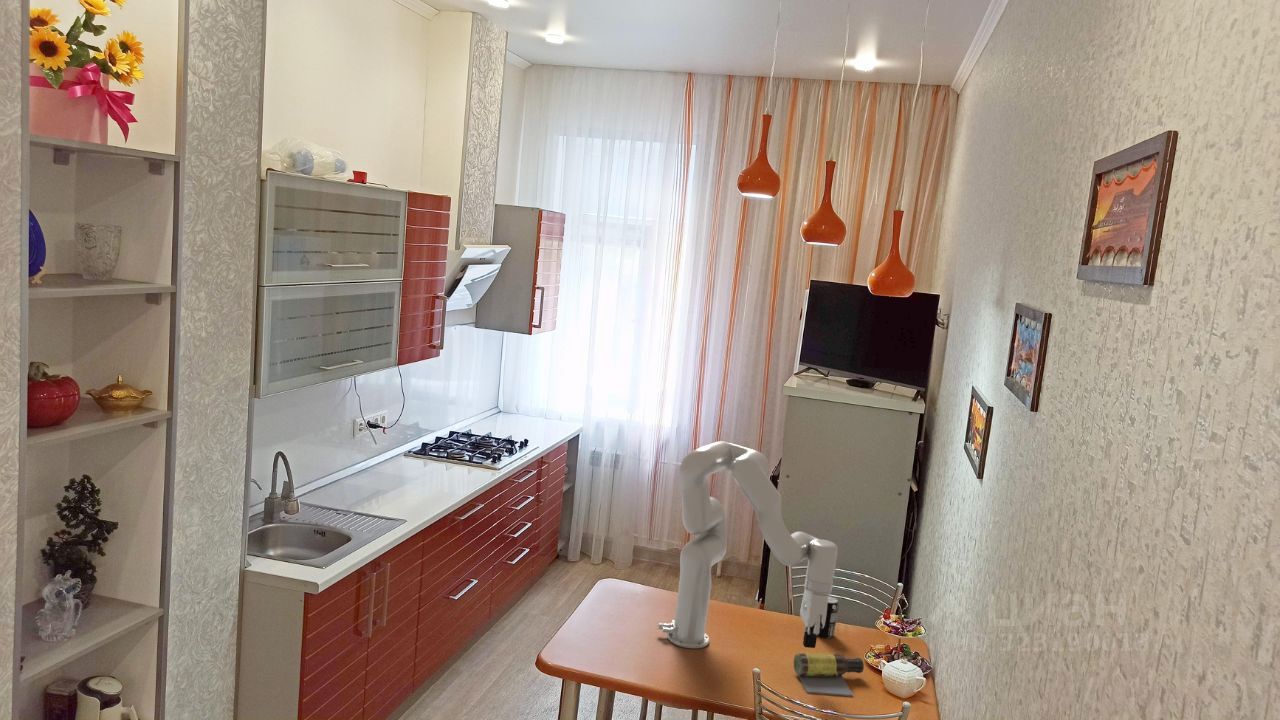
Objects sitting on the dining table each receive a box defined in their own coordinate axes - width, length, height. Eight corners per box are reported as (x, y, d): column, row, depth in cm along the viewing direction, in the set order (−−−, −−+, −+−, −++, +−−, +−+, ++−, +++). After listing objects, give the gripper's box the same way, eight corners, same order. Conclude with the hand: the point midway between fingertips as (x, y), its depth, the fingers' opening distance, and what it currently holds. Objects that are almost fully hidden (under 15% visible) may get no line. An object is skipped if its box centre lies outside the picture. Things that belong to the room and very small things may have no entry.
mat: (806, 692, 253) (806, 691, 253) (794, 666, 268) (794, 665, 268) (852, 696, 254) (852, 694, 254) (837, 670, 269) (838, 668, 269)
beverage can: (810, 629, 296) (815, 593, 294) (830, 630, 297) (835, 595, 295) (815, 638, 290) (821, 602, 288) (836, 639, 290) (841, 603, 288)
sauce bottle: (800, 679, 259) (865, 680, 263) (801, 656, 259) (867, 658, 263) (791, 671, 265) (855, 673, 269) (793, 649, 265) (857, 651, 269)
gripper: (799, 573, 264) (789, 633, 267) (811, 594, 249) (802, 657, 252) (824, 575, 264) (815, 635, 267) (838, 596, 250) (828, 660, 252)
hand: (808, 646), depth 259 cm, fingers closed
